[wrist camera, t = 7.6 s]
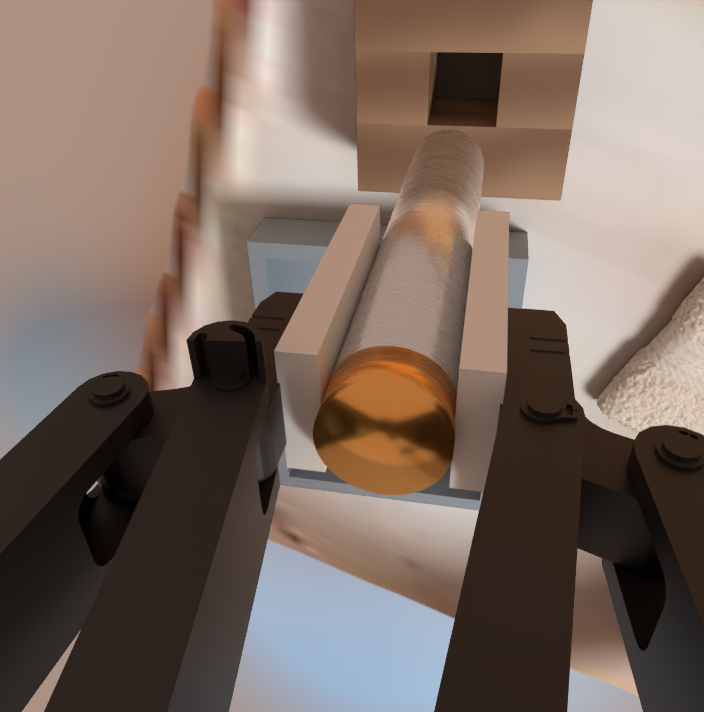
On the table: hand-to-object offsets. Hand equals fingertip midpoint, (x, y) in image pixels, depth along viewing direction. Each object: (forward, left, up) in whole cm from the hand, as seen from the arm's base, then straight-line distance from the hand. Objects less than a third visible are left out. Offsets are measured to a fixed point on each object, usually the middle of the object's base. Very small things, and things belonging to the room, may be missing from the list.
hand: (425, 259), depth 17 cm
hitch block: (0, 0, -22) cm, 22 cm away
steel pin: (0, 0, -7) cm, 7 cm away
